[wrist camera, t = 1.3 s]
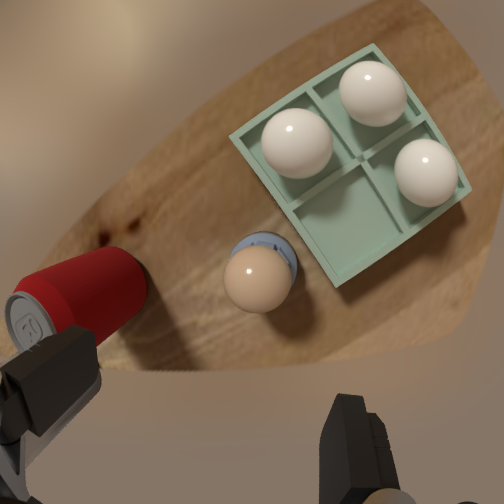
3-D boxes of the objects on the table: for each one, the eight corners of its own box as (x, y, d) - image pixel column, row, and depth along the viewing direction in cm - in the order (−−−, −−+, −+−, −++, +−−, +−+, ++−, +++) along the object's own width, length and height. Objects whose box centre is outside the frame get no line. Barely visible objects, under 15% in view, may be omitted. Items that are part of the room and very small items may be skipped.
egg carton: (332, 276, 24) (335, 288, 21) (237, 142, 23) (228, 136, 20) (455, 188, 20) (472, 190, 18) (365, 57, 19) (373, 42, 17)
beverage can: (81, 270, 27) (-11, 312, 16) (121, 229, 26) (18, 260, 14) (120, 326, 28) (42, 391, 16) (165, 291, 26) (82, 359, 14)
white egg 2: (361, 143, 19) (375, 133, 15) (322, 93, 19) (327, 71, 15) (407, 113, 18) (430, 98, 14) (369, 64, 18) (383, 39, 14)
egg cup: (257, 305, 25) (252, 318, 22) (220, 254, 25) (211, 262, 22) (309, 271, 24) (310, 282, 21) (272, 218, 23) (268, 222, 21)
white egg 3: (407, 216, 20) (431, 224, 16) (374, 163, 19) (392, 158, 15) (451, 184, 19) (481, 185, 14) (420, 132, 18) (445, 121, 14)
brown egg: (254, 310, 23) (243, 336, 19) (219, 262, 23) (200, 279, 18) (304, 278, 22) (305, 300, 18) (268, 227, 22) (260, 237, 17)
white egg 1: (290, 192, 21) (287, 193, 17) (252, 141, 20) (240, 129, 16) (342, 156, 20) (353, 148, 15) (304, 105, 19) (304, 85, 15)
